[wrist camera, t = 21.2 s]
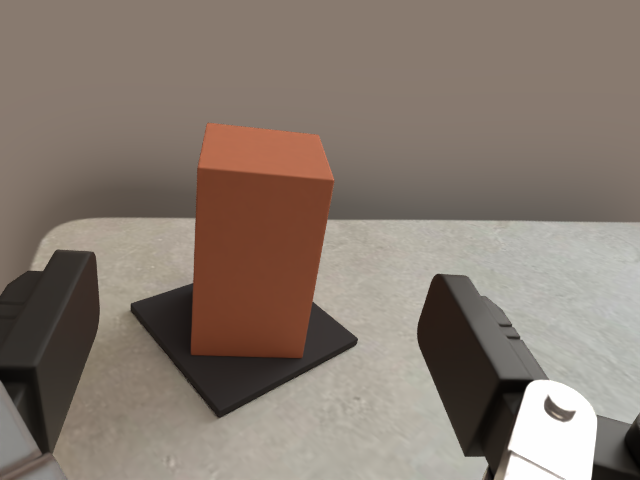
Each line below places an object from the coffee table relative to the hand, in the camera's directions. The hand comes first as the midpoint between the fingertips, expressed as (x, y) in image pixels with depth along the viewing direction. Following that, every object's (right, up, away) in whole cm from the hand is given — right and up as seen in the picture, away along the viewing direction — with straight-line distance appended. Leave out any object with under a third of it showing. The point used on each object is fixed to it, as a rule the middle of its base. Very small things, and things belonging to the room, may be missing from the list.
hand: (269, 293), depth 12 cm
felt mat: (-3, -3, +13) cm, 14 cm away
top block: (-2, -3, +13) cm, 13 cm away
